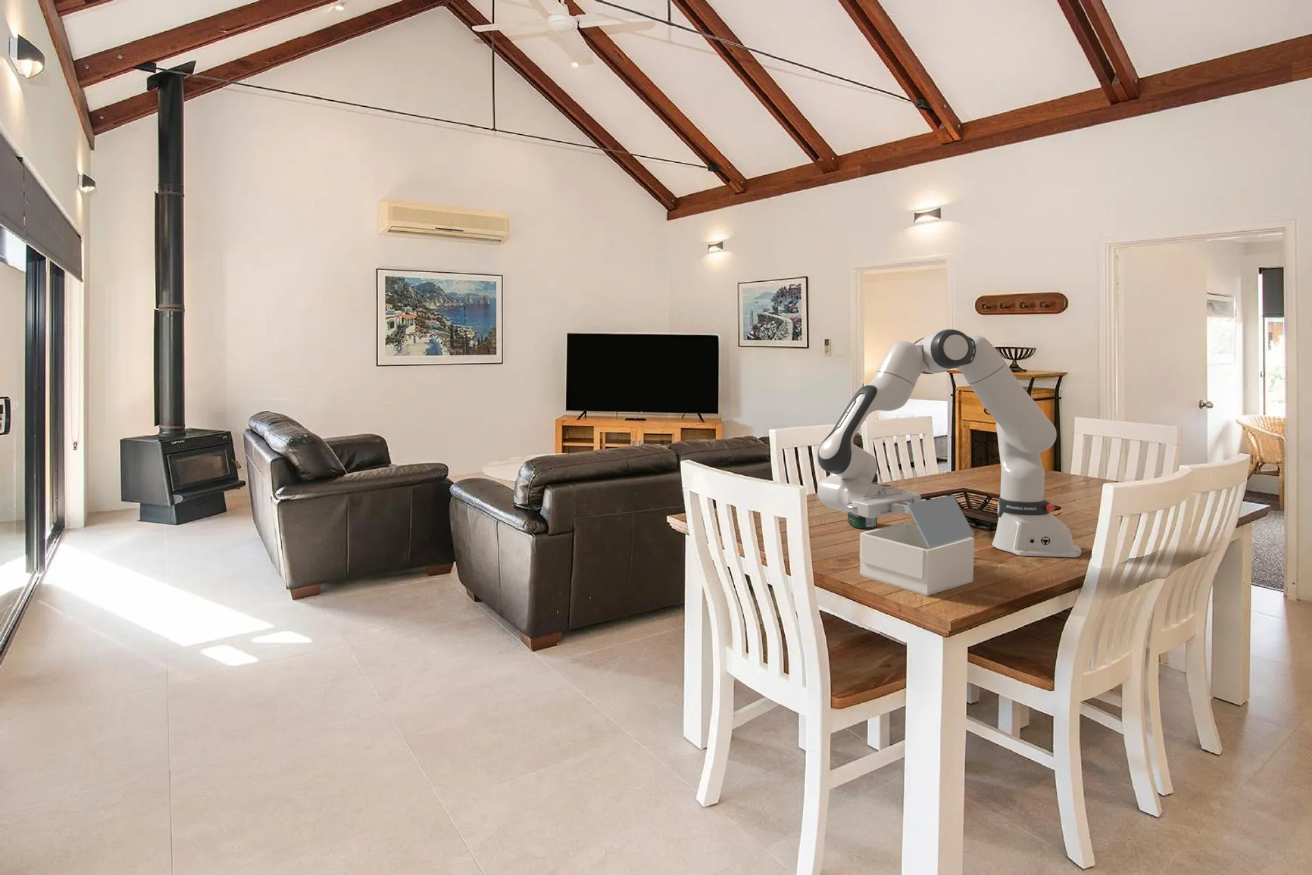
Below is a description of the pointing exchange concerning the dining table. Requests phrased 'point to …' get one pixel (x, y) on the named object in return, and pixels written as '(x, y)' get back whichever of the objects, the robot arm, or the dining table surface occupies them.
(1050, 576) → the dining table surface
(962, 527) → the lid flap
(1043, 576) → the dining table surface
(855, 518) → the coffee jar
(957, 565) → the carton
